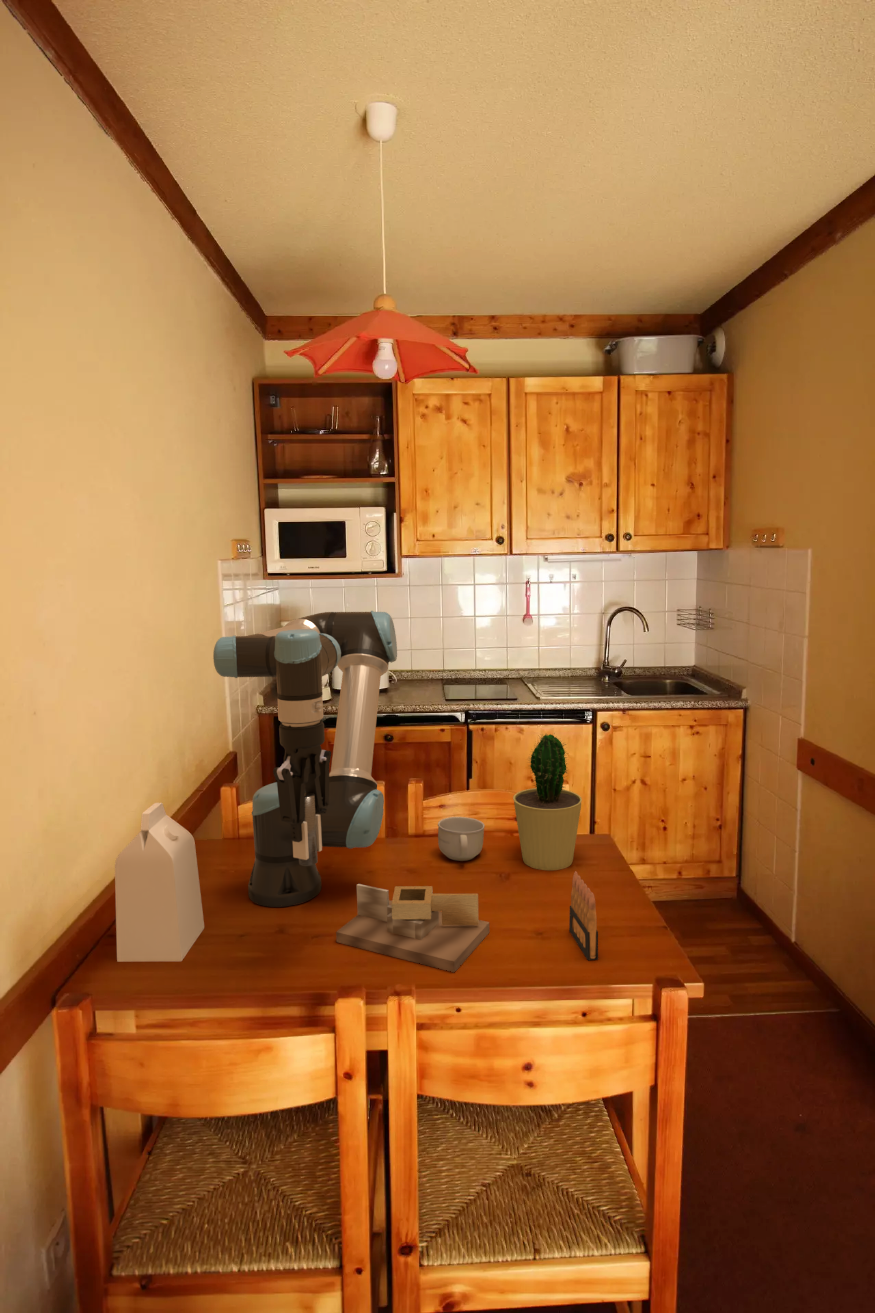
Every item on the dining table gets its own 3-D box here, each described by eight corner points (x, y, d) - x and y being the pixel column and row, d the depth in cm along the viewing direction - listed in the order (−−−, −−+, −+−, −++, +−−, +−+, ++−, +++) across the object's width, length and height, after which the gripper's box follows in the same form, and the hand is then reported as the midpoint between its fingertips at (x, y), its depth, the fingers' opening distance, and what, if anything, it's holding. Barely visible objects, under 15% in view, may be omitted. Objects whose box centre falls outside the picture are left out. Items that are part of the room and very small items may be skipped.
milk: (145, 928, 145) (134, 797, 142) (204, 927, 145) (195, 797, 141) (117, 961, 133) (105, 820, 130) (181, 961, 133) (171, 819, 129)
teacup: (441, 846, 182) (441, 814, 181) (486, 847, 181) (486, 815, 180) (433, 870, 169) (432, 836, 168) (481, 872, 167) (481, 837, 166)
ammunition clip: (598, 960, 130) (599, 894, 129) (588, 961, 130) (588, 895, 129) (578, 930, 141) (579, 868, 139) (569, 930, 141) (569, 869, 139)
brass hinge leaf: (392, 934, 136) (391, 903, 135) (396, 915, 143) (395, 886, 142) (478, 933, 135) (478, 903, 134) (478, 915, 142) (477, 886, 141)
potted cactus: (526, 843, 183) (525, 722, 179) (588, 853, 176) (589, 727, 172) (503, 867, 169) (502, 737, 165) (571, 879, 163) (571, 743, 159)
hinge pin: (295, 864, 131) (291, 797, 129) (306, 857, 133) (303, 791, 132) (310, 867, 129) (307, 799, 127) (321, 860, 132) (318, 794, 130)
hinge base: (336, 942, 138) (334, 900, 137) (379, 907, 152) (378, 869, 150) (454, 972, 127) (453, 928, 126) (489, 932, 141) (488, 891, 140)
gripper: (289, 734, 119) (296, 875, 122) (346, 713, 133) (351, 840, 136) (252, 730, 122) (260, 867, 126) (312, 710, 137) (317, 834, 140)
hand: (307, 853), depth 131 cm, fingers closed on hinge pin, 3 cm apart
